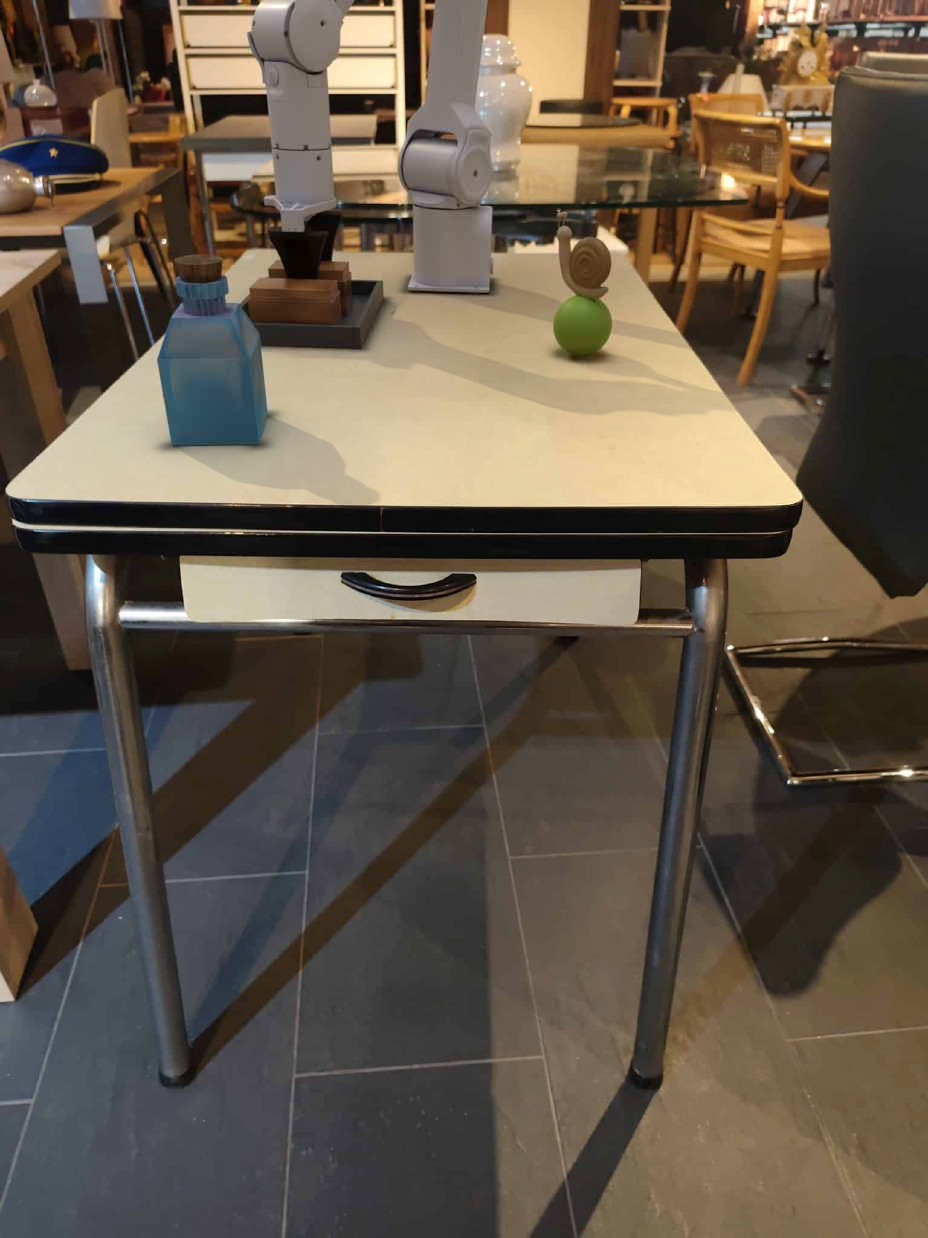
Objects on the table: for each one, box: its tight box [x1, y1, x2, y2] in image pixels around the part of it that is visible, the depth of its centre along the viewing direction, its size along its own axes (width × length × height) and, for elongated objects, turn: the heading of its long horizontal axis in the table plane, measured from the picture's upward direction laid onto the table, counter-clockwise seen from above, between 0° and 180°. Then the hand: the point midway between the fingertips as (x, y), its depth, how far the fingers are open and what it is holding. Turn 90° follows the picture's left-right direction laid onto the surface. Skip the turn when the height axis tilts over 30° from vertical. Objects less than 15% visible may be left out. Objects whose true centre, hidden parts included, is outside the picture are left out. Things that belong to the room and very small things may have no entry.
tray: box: [239, 276, 385, 349], centre depth 92 cm, size 13×19×2 cm
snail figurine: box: [552, 211, 613, 357], centre depth 81 cm, size 5×6×12 cm
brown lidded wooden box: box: [267, 259, 353, 316], centre depth 92 cm, size 8×4×4 cm, turn 88°
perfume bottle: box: [156, 254, 269, 447], centre depth 63 cm, size 6×6×12 cm
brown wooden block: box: [248, 277, 342, 325], centre depth 85 cm, size 8×4×4 cm, turn 88°
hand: (312, 293), depth 93 cm, fingers open, 7 cm apart
